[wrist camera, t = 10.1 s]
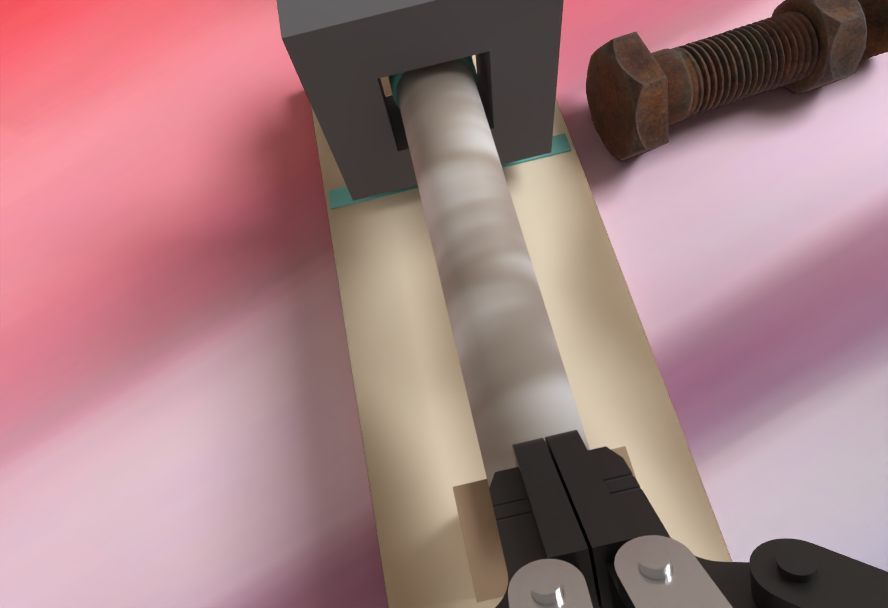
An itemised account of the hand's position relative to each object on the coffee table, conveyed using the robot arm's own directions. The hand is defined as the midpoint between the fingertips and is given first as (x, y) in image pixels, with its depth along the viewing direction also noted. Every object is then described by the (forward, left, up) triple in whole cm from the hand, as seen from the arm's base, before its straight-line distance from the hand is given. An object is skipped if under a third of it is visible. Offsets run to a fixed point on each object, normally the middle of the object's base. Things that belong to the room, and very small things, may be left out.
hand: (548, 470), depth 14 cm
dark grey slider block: (0, -16, -8) cm, 18 cm away
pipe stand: (0, -11, -11) cm, 15 cm away
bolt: (-15, -17, -11) cm, 26 cm away
